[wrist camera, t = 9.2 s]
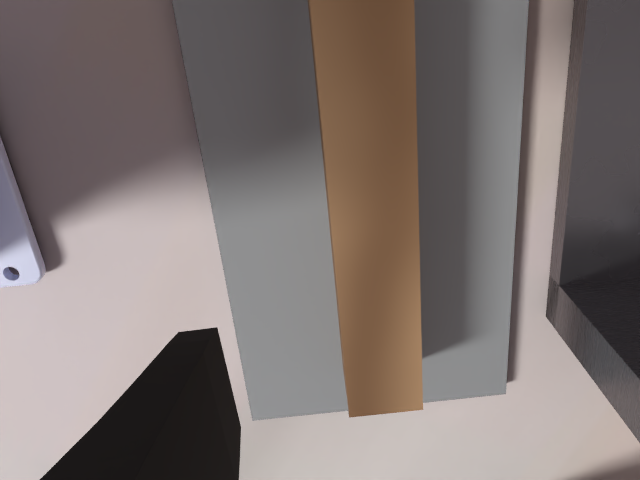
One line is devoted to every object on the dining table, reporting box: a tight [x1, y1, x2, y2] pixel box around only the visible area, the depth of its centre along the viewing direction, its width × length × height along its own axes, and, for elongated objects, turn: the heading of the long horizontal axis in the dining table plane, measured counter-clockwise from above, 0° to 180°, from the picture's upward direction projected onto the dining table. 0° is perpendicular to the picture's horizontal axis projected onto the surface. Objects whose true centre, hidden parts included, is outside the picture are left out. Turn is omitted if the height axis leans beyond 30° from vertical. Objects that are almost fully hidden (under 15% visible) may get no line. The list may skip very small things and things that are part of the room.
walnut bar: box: [308, 0, 423, 417], centre depth 15 cm, size 2×24×2 cm, turn 5°
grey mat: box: [172, 0, 529, 421], centre depth 16 cm, size 10×28×1 cm, turn 5°
